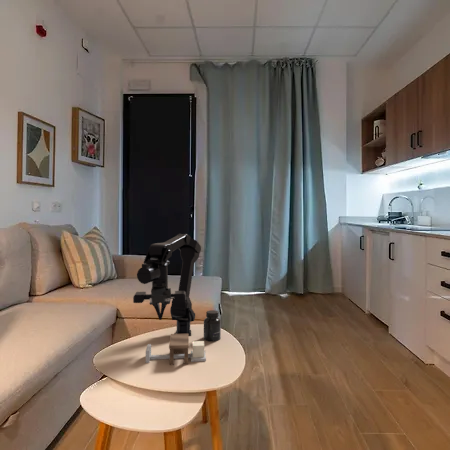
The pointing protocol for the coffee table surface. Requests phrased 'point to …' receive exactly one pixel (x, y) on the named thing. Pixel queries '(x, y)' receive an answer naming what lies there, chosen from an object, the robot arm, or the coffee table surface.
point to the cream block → (198, 348)
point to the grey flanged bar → (176, 356)
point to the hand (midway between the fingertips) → (160, 319)
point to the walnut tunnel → (179, 346)
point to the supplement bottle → (212, 326)
